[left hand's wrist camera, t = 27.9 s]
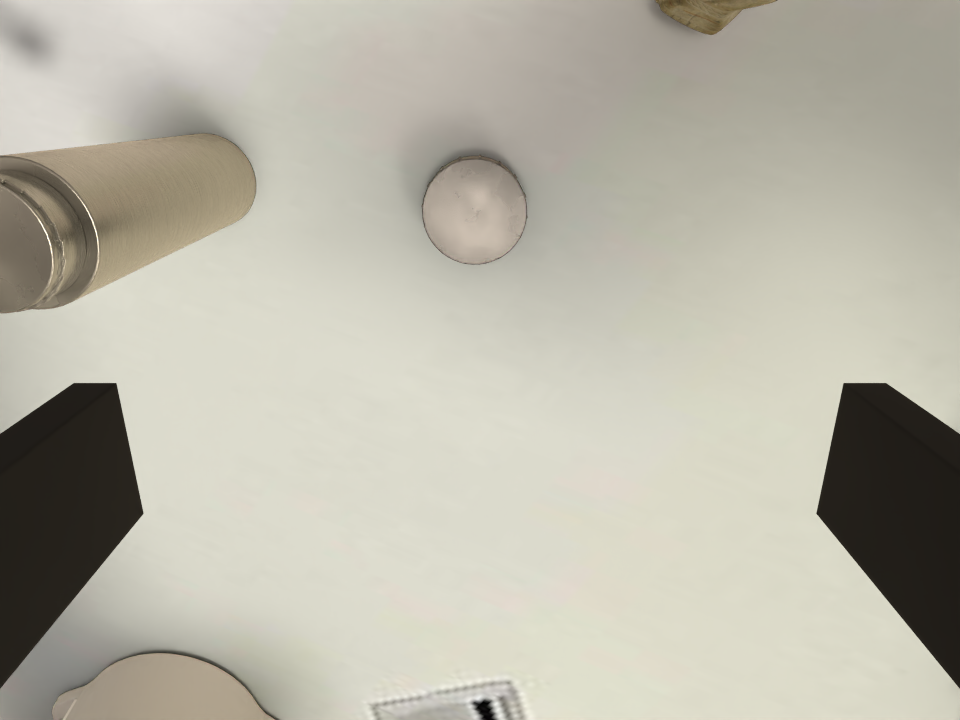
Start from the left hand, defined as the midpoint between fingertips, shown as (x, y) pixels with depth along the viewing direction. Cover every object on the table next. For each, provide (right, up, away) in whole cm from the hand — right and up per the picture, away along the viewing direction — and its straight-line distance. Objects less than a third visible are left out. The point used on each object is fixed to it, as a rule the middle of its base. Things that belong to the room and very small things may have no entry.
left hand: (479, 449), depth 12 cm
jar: (-16, +12, +28) cm, 34 cm away
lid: (0, +10, +27) cm, 29 cm away
